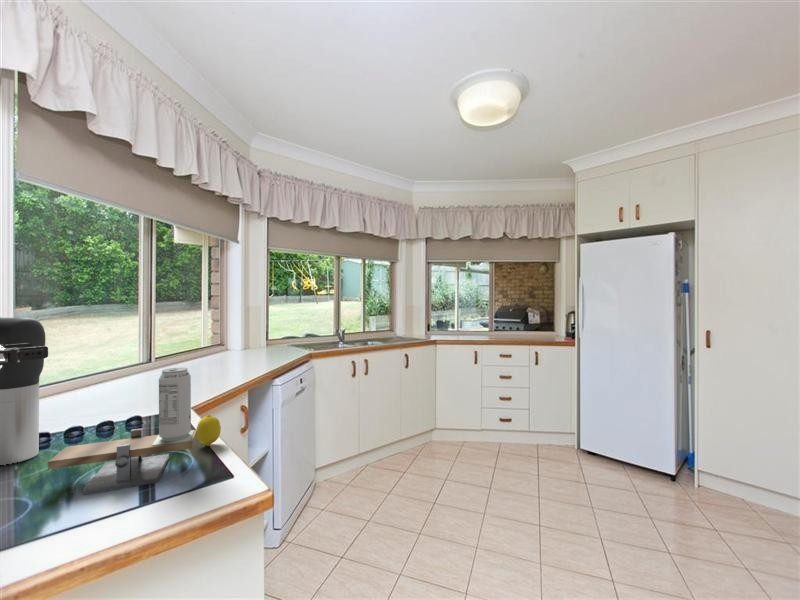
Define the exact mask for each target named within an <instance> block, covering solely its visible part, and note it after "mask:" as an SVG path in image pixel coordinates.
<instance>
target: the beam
mask: <svg viewBox="0 0 800 600" xmlns="http://www.w3.org/2000/svg"><path fill="white" fill-rule="evenodd" d="M196 439H197V430H196V429H191V431H190V432H189V433H188V436H187V437H186V438H184V439H181V440H177V441H163V440H162V438H161V437H159V434H154V435H147V436H143V437H137V438H131V437H130V438H125V439H124V438H122V439H116V440H107V441H101V442H92V443H85V444H77V445H71V446H65V447H64V448H63V449H62V450H61V451H60V452H57V454H55V456H53V457H52V458H51V459H49V460H48V461H47V465H48V467H47V469H48V470H53V469H55V470H56V469H61V468H69V467H74V466H82V465H88V464H94V463H96V464H97V463H101V462H109V461H110V462H111V461H115V460H116V461H117V446H118V445H123V444H130V457H137V456H142V457H144V456H149V455H150V456H151V455H157V454H162V453H163V454H165V453H169V452H177V451H184V450H192V449H193V448H194V445H195V442H196Z"/></svg>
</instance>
